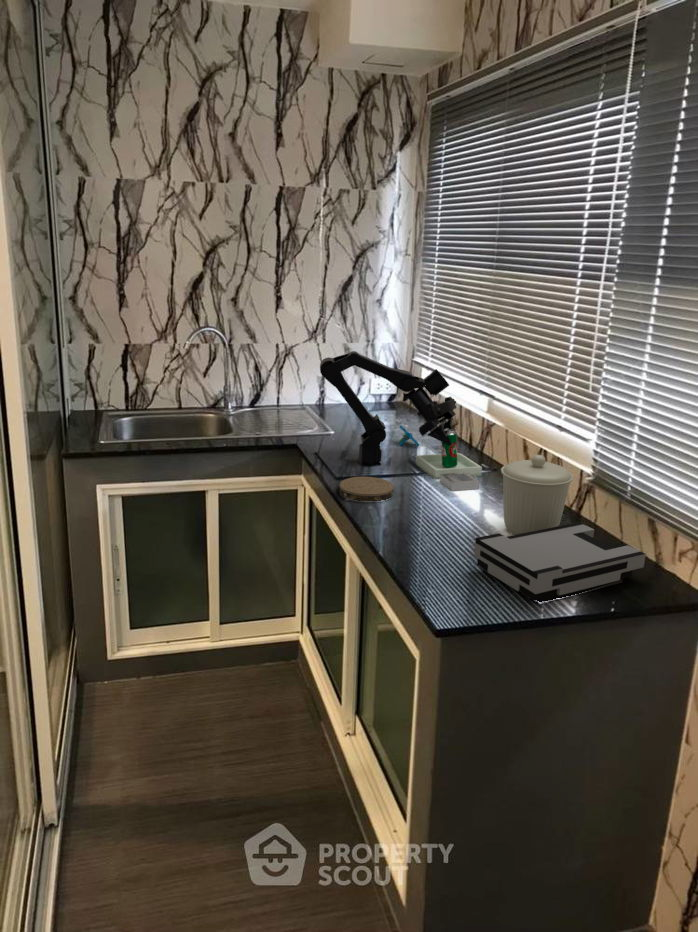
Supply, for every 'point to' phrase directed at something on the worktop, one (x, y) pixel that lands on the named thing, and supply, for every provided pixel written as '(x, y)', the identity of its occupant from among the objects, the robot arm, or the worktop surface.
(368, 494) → the tan round disc
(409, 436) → the gear
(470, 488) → the steel socket
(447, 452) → the soda can
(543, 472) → the canister
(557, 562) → the game console
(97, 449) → the worktop surface
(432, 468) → the sage tray
